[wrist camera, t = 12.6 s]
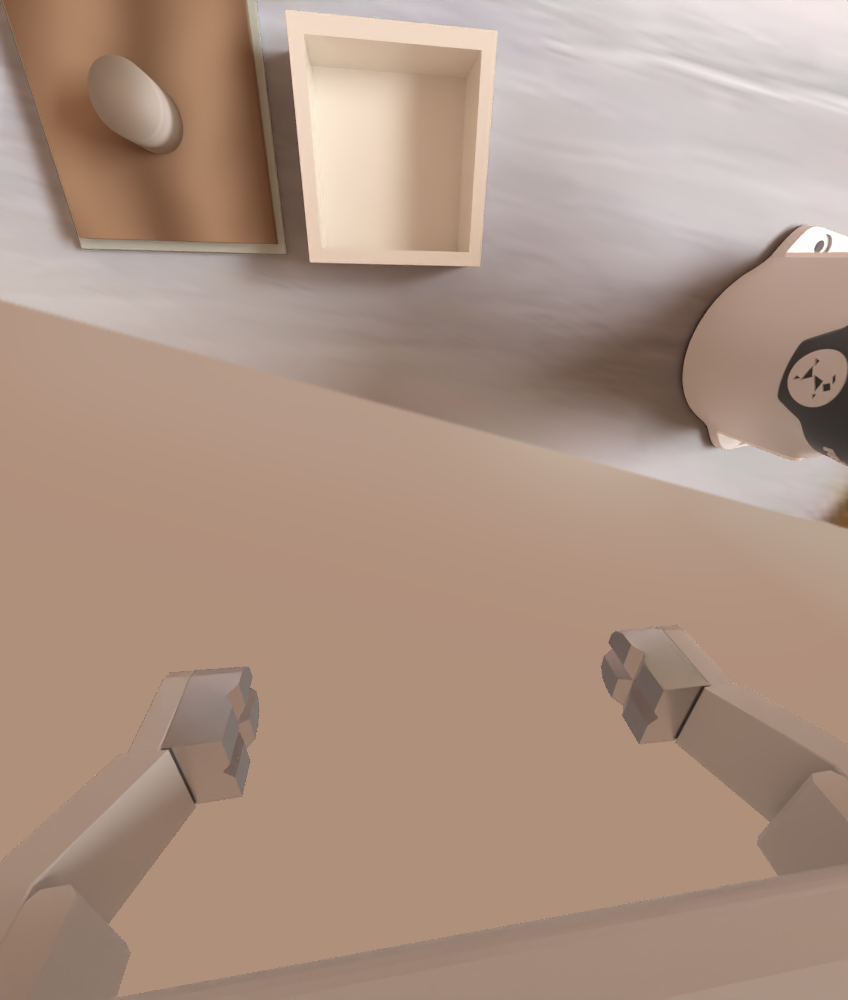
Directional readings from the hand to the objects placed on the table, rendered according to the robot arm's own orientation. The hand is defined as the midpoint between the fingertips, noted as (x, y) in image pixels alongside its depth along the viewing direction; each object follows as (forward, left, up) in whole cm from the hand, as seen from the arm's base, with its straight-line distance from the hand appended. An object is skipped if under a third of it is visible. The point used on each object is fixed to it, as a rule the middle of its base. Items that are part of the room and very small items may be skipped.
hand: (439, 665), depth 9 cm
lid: (+13, -15, -28) cm, 35 cm away
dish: (-1, -13, -29) cm, 32 cm away
